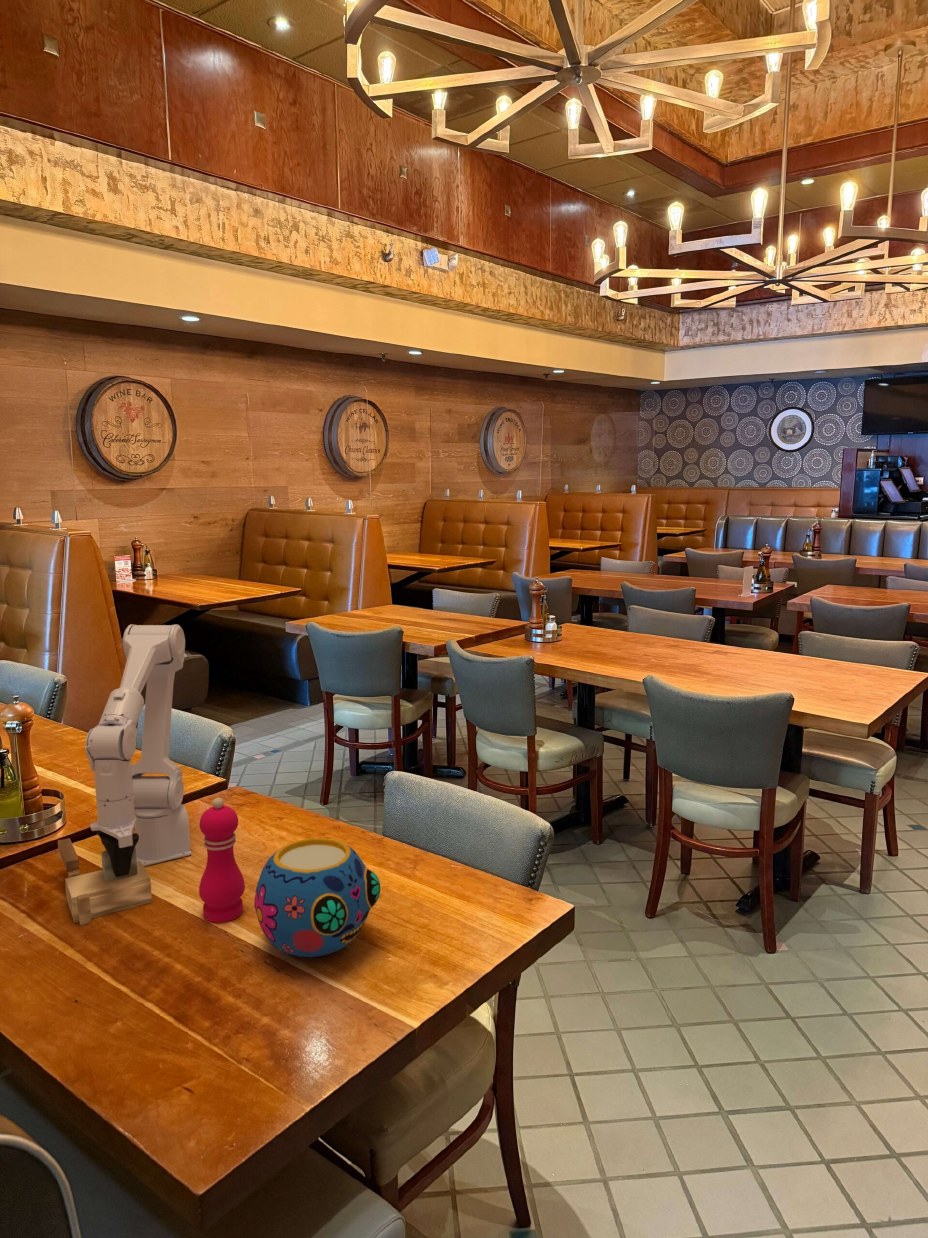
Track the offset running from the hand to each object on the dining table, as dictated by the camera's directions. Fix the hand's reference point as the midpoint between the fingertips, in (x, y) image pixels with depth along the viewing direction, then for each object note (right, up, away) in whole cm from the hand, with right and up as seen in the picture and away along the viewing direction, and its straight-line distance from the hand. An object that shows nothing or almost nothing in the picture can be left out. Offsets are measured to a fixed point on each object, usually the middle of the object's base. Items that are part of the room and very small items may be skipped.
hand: (120, 871), depth 137 cm
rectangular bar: (-11, +1, +5) cm, 12 cm away
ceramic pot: (+35, -8, -13) cm, 38 cm away
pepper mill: (+19, -6, -4) cm, 20 cm away
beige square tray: (-2, -5, 0) cm, 5 cm away
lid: (-2, -2, -1) cm, 2 cm away
